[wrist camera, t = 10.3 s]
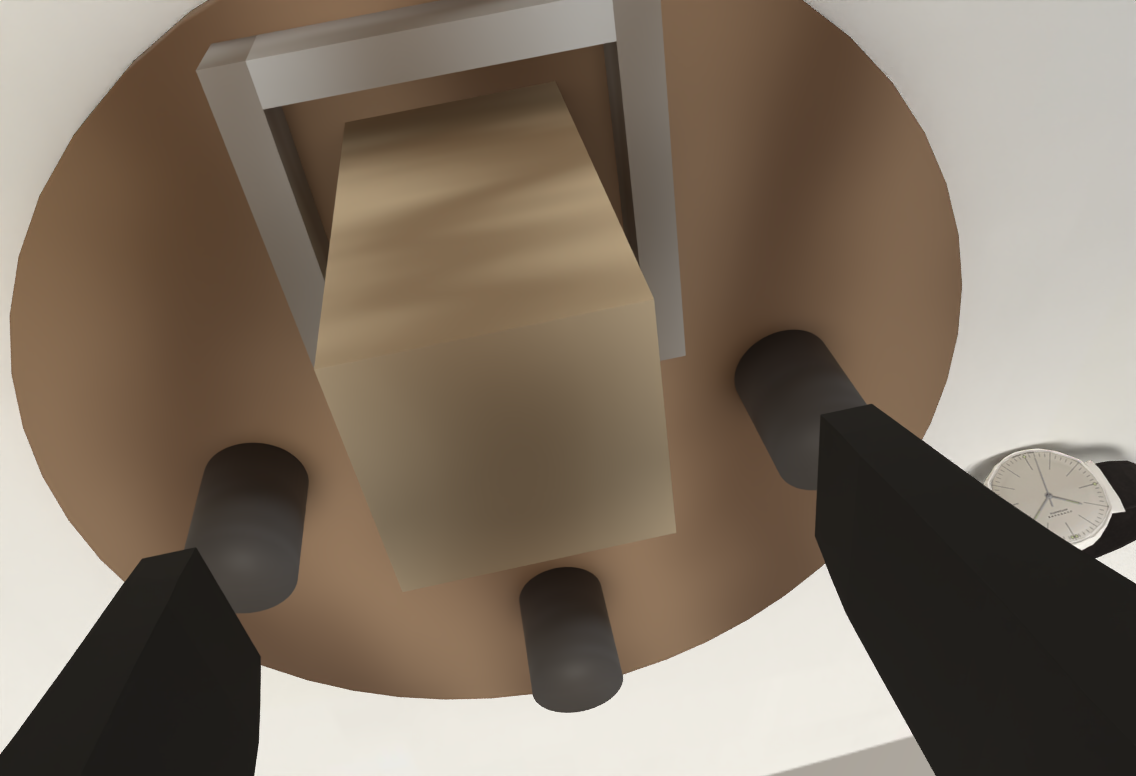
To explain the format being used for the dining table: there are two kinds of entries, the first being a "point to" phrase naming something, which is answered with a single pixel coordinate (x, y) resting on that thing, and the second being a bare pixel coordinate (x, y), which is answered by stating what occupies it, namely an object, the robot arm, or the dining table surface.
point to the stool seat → (295, 294)
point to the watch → (1071, 496)
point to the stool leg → (490, 341)
